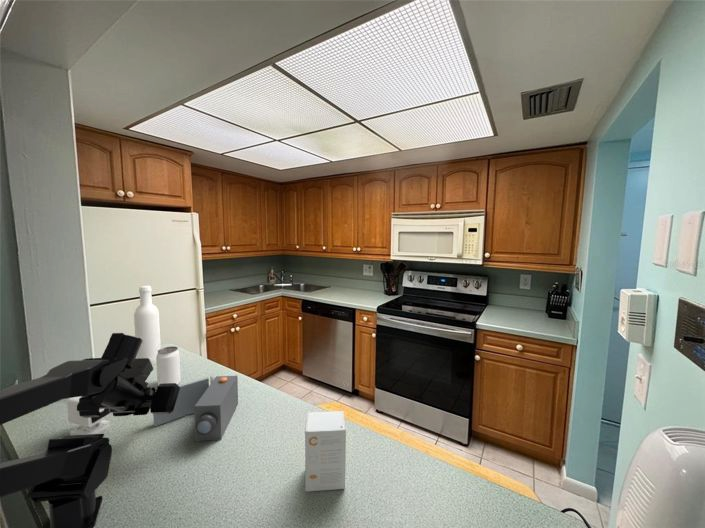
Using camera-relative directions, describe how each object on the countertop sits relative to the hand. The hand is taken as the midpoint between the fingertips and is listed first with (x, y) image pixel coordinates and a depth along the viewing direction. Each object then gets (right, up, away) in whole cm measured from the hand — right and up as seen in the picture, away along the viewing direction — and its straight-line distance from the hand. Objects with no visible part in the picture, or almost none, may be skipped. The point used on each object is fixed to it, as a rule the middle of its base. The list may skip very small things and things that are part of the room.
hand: (148, 408), depth 71 cm
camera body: (+14, -7, +5) cm, 16 cm away
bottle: (-28, -2, +39) cm, 47 cm away
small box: (+45, -9, -11) cm, 48 cm away
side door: (+4, -6, +8) cm, 10 cm away
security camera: (-15, -7, +1) cm, 16 cm away
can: (-10, -4, +24) cm, 26 cm away
